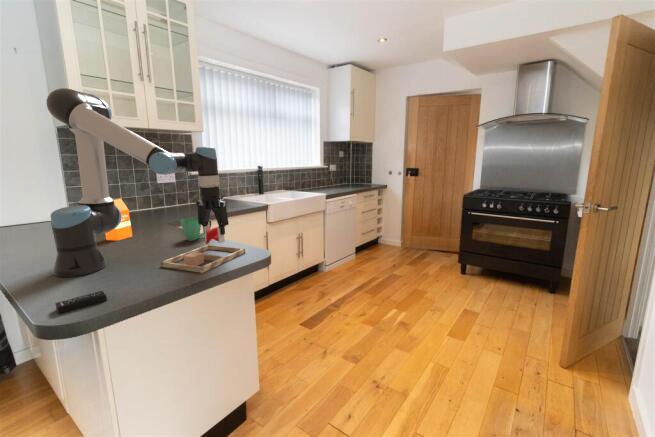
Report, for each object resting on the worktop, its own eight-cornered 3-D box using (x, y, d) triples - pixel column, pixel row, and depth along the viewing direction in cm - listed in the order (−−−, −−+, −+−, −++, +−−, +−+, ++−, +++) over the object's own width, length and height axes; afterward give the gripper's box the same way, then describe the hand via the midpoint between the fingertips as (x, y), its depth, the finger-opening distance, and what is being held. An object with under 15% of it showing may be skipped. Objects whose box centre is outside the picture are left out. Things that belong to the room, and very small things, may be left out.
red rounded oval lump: (219, 231, 137) (206, 226, 133) (226, 228, 133) (213, 223, 129) (214, 248, 134) (201, 243, 130) (221, 246, 129) (207, 241, 126)
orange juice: (105, 239, 161) (99, 201, 158) (120, 235, 170) (115, 198, 166) (118, 240, 160) (112, 201, 156) (132, 236, 168) (127, 198, 164)
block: (195, 267, 119) (194, 256, 118) (184, 265, 121) (183, 255, 120) (204, 262, 124) (203, 253, 123) (194, 261, 125) (192, 252, 124)
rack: (202, 272, 112) (201, 268, 112) (161, 266, 120) (160, 262, 119) (245, 252, 135) (245, 248, 135) (208, 248, 143) (207, 244, 142)
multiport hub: (107, 301, 92) (106, 294, 92) (58, 315, 84) (57, 307, 84) (103, 297, 95) (102, 290, 95) (56, 310, 87) (55, 302, 87)
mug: (184, 242, 152) (182, 222, 150) (180, 238, 160) (178, 219, 158) (215, 237, 161) (213, 218, 159) (210, 234, 169) (208, 215, 167)
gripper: (235, 185, 127) (239, 241, 132) (198, 185, 134) (203, 237, 139) (222, 187, 120) (227, 246, 125) (184, 186, 127) (190, 242, 132)
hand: (215, 241), depth 132 cm, fingers closed on red rounded oval lump, 6 cm apart
